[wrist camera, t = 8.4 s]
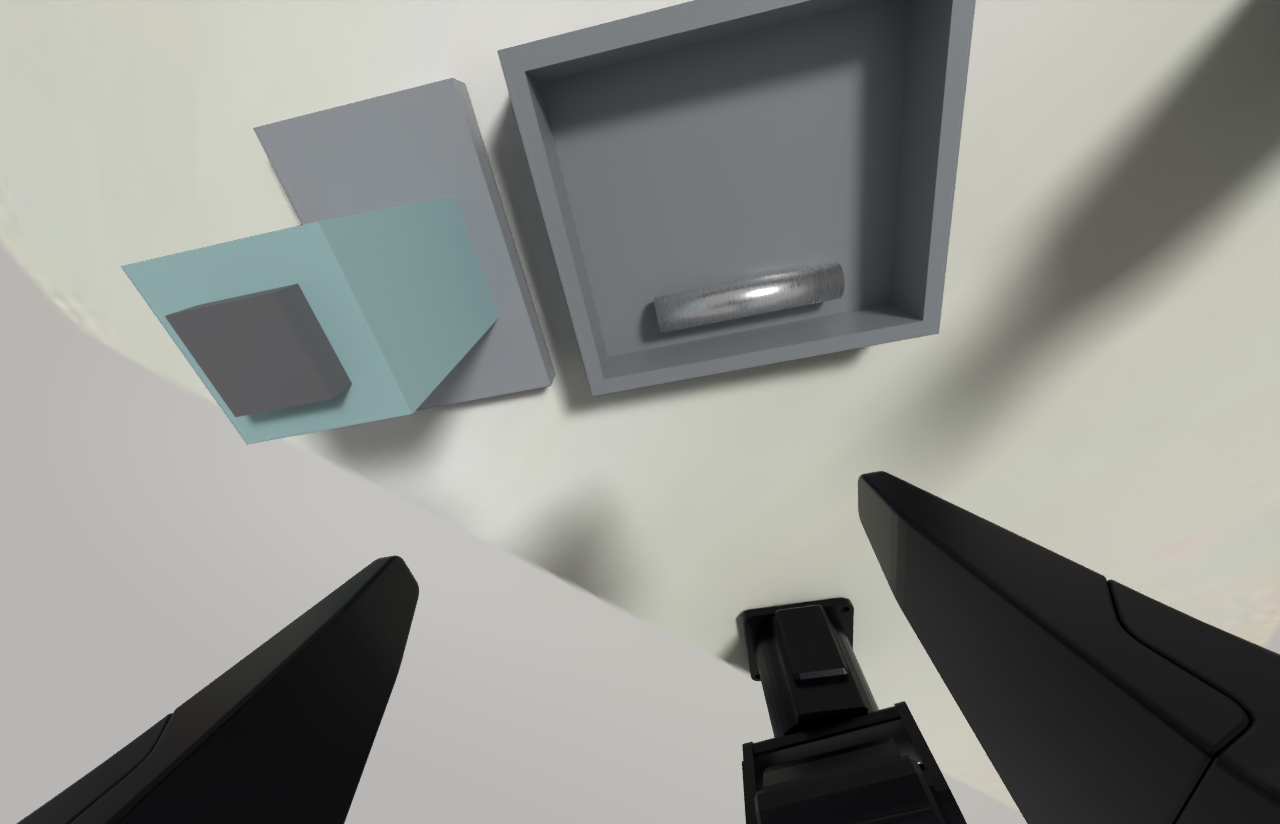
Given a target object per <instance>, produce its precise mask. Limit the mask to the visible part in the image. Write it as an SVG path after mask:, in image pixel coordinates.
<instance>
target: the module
mask: <svg viewBox="0 0 1280 824" xmlns="http://www.w3.org/2000/svg"><path fill="white" fill-rule="evenodd" d="M121 268H122V269H123V270H124V272H125V273H126V275H127V276H128V277H129V279H130V280H131V282H132V283H133V284H134V286H135V287H136V289H137V290H138V292H139V293H140V294H141V296H142V297H143V299H144V300H145V301H146V303H147V304H148V306H149V307H150V308H151V310H152V311H153V313H154V314H155V316H156V317H157V318H158V320H159V321H160V323H161V324H162V325H163V327H164V328H165V330H166V331H167V333H168V334H169V335H170V337H171V338H172V340H173V341H174V342H175V344H176V345H177V347H178V348H179V349H180V351H181V352H182V354H183V355H184V357H185V358H186V359H187V361H188V362H189V364H190V365H191V366H192V368H193V369H194V371H195V372H196V373H197V375H198V376H199V378H200V379H201V381H202V382H203V383H204V385H205V386H206V388H207V389H208V390H209V392H210V393H211V395H212V396H213V397H214V399H215V400H216V402H217V403H218V405H219V406H220V407H221V409H222V410H223V411H224V413H225V414H226V416H227V417H228V419H229V420H230V421H231V423H232V424H233V426H234V427H235V429H236V430H237V431H238V433H239V434H240V435H241V437H242V438H243V440H244V441H245V443H246V444H252V443H257V442H263V441H269V440H274V439H280V438H285V437H290V436H296V435H301V434H307V433H312V432H318V431H323V430H329V429H334V428H339V427H345V426H350V425H356V424H361V423H367V422H372V421H377V420H383V419H388V418H394V417H399V416H405V415H410V414H413V413H414V412H415V410H416V409H417V408H418V407H419V406H420V405H421V404H422V403H423V402H424V400H425V399H426V398H427V397H428V396H429V395H430V394H431V393H432V391H433V390H434V389H435V388H436V387H437V386H438V385H439V384H440V383H441V381H442V380H443V379H444V378H445V377H446V376H447V375H448V374H449V373H450V371H451V370H452V369H453V368H454V367H455V366H456V365H457V364H458V362H459V361H460V360H461V359H462V358H463V357H464V356H465V355H466V354H467V352H468V351H469V350H470V349H471V348H472V347H473V346H474V345H475V344H476V342H477V341H478V340H479V339H480V338H481V337H482V336H483V335H484V333H485V332H486V331H487V330H488V329H489V328H490V327H491V326H492V325H493V323H494V322H495V321H496V320H497V319H498V315H497V312H496V310H495V307H494V304H493V301H492V298H491V295H490V292H489V290H488V287H487V284H486V281H485V278H484V275H483V273H482V270H481V267H480V264H479V261H478V258H477V255H476V253H475V250H474V247H473V244H472V241H471V238H470V236H469V233H468V230H467V227H466V224H465V221H464V218H463V216H462V213H461V210H460V207H459V204H458V201H457V199H456V196H451V197H446V198H441V199H435V200H430V201H425V202H419V203H414V204H408V205H403V206H398V207H392V208H387V209H382V210H376V211H371V212H365V213H360V214H355V215H349V216H344V217H339V218H333V219H328V220H322V221H317V222H313V223H308V224H304V225H300V226H295V227H291V228H287V229H282V230H278V231H273V232H269V233H265V234H260V235H256V236H251V237H247V238H243V239H238V240H234V241H230V242H225V243H221V244H216V245H212V246H208V247H203V248H199V249H195V250H190V251H186V252H181V253H177V254H173V255H168V256H164V257H159V258H155V259H151V260H146V261H142V262H138V263H133V264H129V265H124V266H121Z"/></svg>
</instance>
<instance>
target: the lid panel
mask: <svg viewBox="0 0 1280 824" xmlns="http://www.w3.org/2000/svg"><path fill="white" fill-rule="evenodd" d="M253 129H254V131H255V133H256V135H257V137H258V139H259V141H260V143H261V145H262V147H263V149H264V150H265V152H266V154H267V156H268V158H269V160H270V162H271V164H272V166H273V168H274V170H275V172H276V174H277V176H278V178H279V180H280V182H281V184H282V186H283V188H284V190H285V192H286V194H287V196H288V198H289V200H290V202H291V204H292V206H293V208H294V210H295V212H296V214H297V216H298V217H299V219H300V221H301V223H302V225H304V224H308V223H313V222H317V221H322V220H328V219H333V218H339V217H344V216H349V215H355V214H360V213H365V212H371V211H376V210H382V209H387V208H392V207H398V206H403V205H408V204H414V203H419V202H425V201H430V200H435V199H441V198H446V197H451V196H456V199H457V201H458V204H459V207H460V210H461V213H462V216H463V218H464V221H465V224H466V227H467V230H468V233H469V236H470V238H471V241H472V244H473V247H474V250H475V253H476V255H477V258H478V261H479V264H480V267H481V270H482V273H483V275H484V278H485V281H486V284H487V287H488V290H489V292H490V295H491V298H492V301H493V304H494V307H495V310H496V312H497V315H498V319H497V320H496V321H495V322H494V323H493V325H492V326H491V327H490V328H489V329H488V330H487V331H486V332H485V333H484V335H483V336H482V337H481V338H480V339H479V340H478V341H477V342H476V344H475V345H474V346H473V347H472V348H471V349H470V350H469V351H468V352H467V354H466V355H465V356H464V357H463V358H462V359H461V360H460V361H459V362H458V364H457V365H456V366H455V367H454V368H453V369H452V370H451V371H450V373H449V374H448V375H447V376H446V377H445V378H444V379H443V380H442V381H441V383H440V384H439V385H438V386H437V387H436V388H435V389H434V390H433V391H432V393H431V394H430V395H429V396H428V397H427V398H426V399H425V400H424V402H423V403H422V404H421V405H420V406H419V407H418V408H417V409H416V410H415V411H417V410H422V409H428V408H433V407H438V406H444V405H449V404H455V403H460V402H465V401H471V400H476V399H482V398H487V397H492V396H498V395H503V394H509V393H514V392H520V391H525V390H530V389H536V388H541V387H547V386H551V384H552V382H553V379H554V376H555V372H554V369H553V365H552V362H551V359H550V356H549V352H548V349H547V346H546V343H545V340H544V336H543V333H542V330H541V327H540V324H539V320H538V317H537V314H536V311H535V307H534V304H533V301H532V298H531V295H530V291H529V288H528V285H527V282H526V278H525V275H524V272H523V269H522V266H521V262H520V259H519V256H518V253H517V249H516V246H515V243H514V240H513V237H512V233H511V230H510V227H509V224H508V220H507V217H506V214H505V211H504V208H503V204H502V201H501V198H500V195H499V191H498V188H497V185H496V182H495V179H494V175H493V172H492V169H491V166H490V163H489V159H488V156H487V153H486V150H485V146H484V143H483V140H482V137H481V134H480V130H479V127H478V124H477V121H476V117H475V114H474V111H473V108H472V105H471V101H470V98H469V95H468V92H467V88H466V85H465V83H463V82H460V81H458V80H456V79H454V78H450V79H446V80H442V81H438V82H434V83H430V84H426V85H423V86H419V87H415V88H411V89H407V90H403V91H399V92H395V93H391V94H387V95H383V96H379V97H375V98H371V99H367V100H363V101H359V102H355V103H351V104H347V105H343V106H339V107H335V108H331V109H327V110H323V111H319V112H315V113H311V114H307V115H303V116H299V117H295V118H291V119H287V120H283V121H279V122H275V123H272V124H268V125H264V126H260V127H256V128H253Z"/></svg>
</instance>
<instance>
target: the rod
mask: <svg viewBox="0 0 1280 824" xmlns="http://www.w3.org/2000/svg"><path fill="white" fill-rule="evenodd" d="M844 286H845V282H844V274H843V270H842V267H841V265H840V264H839V263H838V262H831V263H826V264H821V265H816V266H811V267H805V268H800V269H795V270H790V271H785V272H780V273H775V274H770V275H765V276H760V277H755V278H750V279H745V280H740V281H735V282H730V283H725V284H720V285H715V286H710V287H705V288H700V289H695V290H690V291H685V292H680V293H675V294H670V295H664V296H659V297H654V303H655V309H656V315H657V320H658V326H659V331H660V333H664V332H669V331H674V330H679V329H685V328H690V327H695V326H700V325H705V324H711V323H716V322H721V321H726V320H732V319H737V318H742V317H747V316H753V315H758V314H763V313H768V312H773V311H779V310H784V309H789V308H794V307H800V306H805V305H810V304H815V303H820V302H826V301H831V300H836V299H840V298H842V296H843V293H844Z"/></svg>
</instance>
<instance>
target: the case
mask: <svg viewBox="0 0 1280 824" xmlns="http://www.w3.org/2000/svg"><path fill="white" fill-rule="evenodd" d="M975 1H976V0H695V1H691V2H687V3H683V4H679V5H675V6H671V7H667V8H663V9H659V10H655V11H651V12H647V13H644V14H640V15H636V16H632V17H628V18H624V19H620V20H616V21H612V22H608V23H604V24H600V25H596V26H593V27H589V28H585V29H581V30H577V31H573V32H569V33H565V34H561V35H557V36H553V37H549V38H545V39H542V40H538V41H534V42H530V43H526V44H522V45H518V46H514V47H510V48H506V49H502V50H498V55H499V58H500V62H501V66H502V69H503V73H504V77H505V80H506V84H507V87H508V91H509V95H510V98H511V102H512V106H513V109H514V113H515V116H516V120H517V124H518V127H519V131H520V135H521V138H522V142H523V146H524V149H525V153H526V156H527V160H528V164H529V167H530V171H531V175H532V178H533V182H534V185H535V189H536V193H537V196H538V200H539V204H540V207H541V211H542V214H543V218H544V222H545V225H546V229H547V233H548V236H549V240H550V243H551V247H552V251H553V254H554V258H555V262H556V265H557V269H558V272H559V276H560V280H561V283H562V287H563V291H564V294H565V298H566V301H567V305H568V309H569V312H570V316H571V320H572V323H573V327H574V330H575V334H576V338H577V341H578V345H579V349H580V352H581V356H582V359H583V363H584V367H585V370H586V374H587V378H588V381H589V385H590V388H591V392H592V396H596V395H602V394H607V393H613V392H618V391H624V390H629V389H635V388H640V387H646V386H651V385H657V384H662V383H668V382H674V381H679V380H685V379H690V378H696V377H701V376H707V375H712V374H718V373H723V372H729V371H734V370H740V369H745V368H751V367H756V366H762V365H767V364H773V363H778V362H784V361H789V360H795V359H800V358H806V357H812V356H817V355H823V354H828V353H834V352H839V351H845V350H850V349H856V348H861V347H867V346H872V345H878V344H883V343H889V342H894V341H900V340H905V339H911V338H916V337H922V336H927V335H933V334H938V333H939V327H940V317H941V308H942V299H943V290H944V281H945V272H946V263H947V254H948V245H949V236H950V227H951V218H952V209H953V200H954V191H955V182H956V173H957V164H958V155H959V146H960V137H961V127H962V118H963V109H964V100H965V91H966V82H967V73H968V64H969V55H970V46H971V37H972V28H973V19H974V10H975ZM831 262H838V263H839V264H840V265H841V267H842V270H843V274H844V282H845V286H844V293H843V296H842V298H840V299H836V300H831V301H826V302H820V303H815V304H810V305H805V306H800V307H794V308H789V309H784V310H779V311H773V312H768V313H763V314H758V315H753V316H747V317H742V318H737V319H732V320H726V321H721V322H716V323H711V324H705V325H700V326H695V327H690V328H685V329H679V330H674V331H669V332H664V333H660V331H659V326H658V320H657V315H656V309H655V303H654V297H659V296H664V295H670V294H675V293H680V292H685V291H690V290H695V289H700V288H705V287H710V286H715V285H720V284H725V283H730V282H735V281H740V280H745V279H750V278H755V277H760V276H765V275H770V274H775V273H780V272H785V271H790V270H795V269H800V268H805V267H811V266H816V265H821V264H826V263H831Z"/></svg>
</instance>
